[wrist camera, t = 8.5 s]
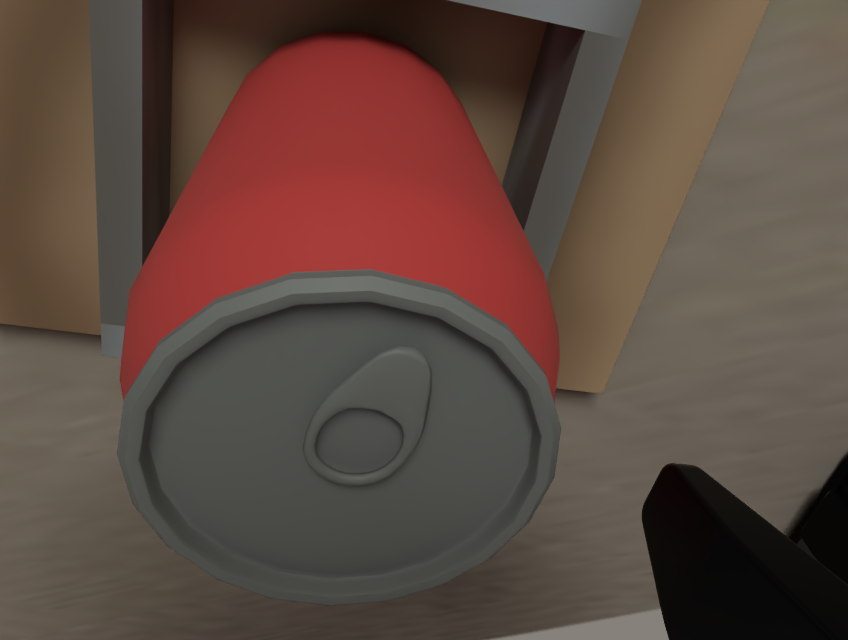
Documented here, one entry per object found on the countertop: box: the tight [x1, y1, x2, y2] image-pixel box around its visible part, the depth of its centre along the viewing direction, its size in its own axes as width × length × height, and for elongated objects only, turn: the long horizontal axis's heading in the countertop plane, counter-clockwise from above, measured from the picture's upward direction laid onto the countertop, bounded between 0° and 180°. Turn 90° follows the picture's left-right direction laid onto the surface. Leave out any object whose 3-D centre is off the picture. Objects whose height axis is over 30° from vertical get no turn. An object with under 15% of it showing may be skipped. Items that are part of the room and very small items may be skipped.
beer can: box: [117, 31, 561, 605], centre depth 14 cm, size 7×7×12 cm
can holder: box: [0, 0, 770, 394], centre depth 18 cm, size 20×14×4 cm
